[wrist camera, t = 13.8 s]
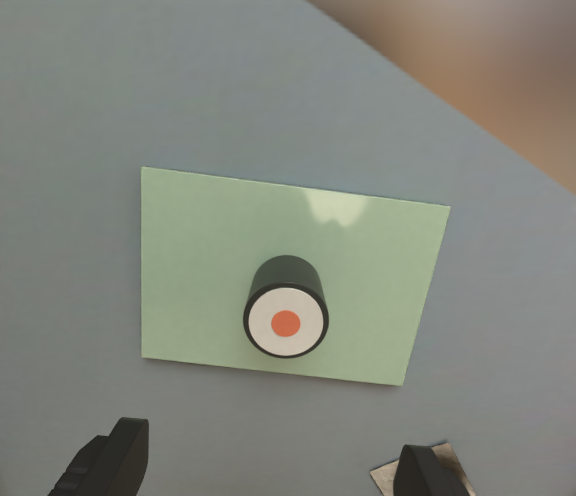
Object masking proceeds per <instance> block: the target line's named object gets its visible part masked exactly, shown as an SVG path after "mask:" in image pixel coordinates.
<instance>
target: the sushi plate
mask: <svg viewBox="0 0 576 496" xmlns="http://www.w3.org/2000/svg"><path fill="white" fill-rule="evenodd" d="M450 209H451V207H449V206H446V205H442V204H434V203H427V202H419V201H411V200H404V199H396V198H388V197H381V196H373V195H365V194H357V193H350V192H342V191H334V190H327V189H319V188H311V187H304V186H296V185H288V184H280V183H273V182H265V181H257V180H250V179H242V178H234V177H226V176H219V175H211V174H203V173H196V172H188V171H180V170H173V169H165V168H157V167H149V166H145V167H141V357H143V358H152V359H161V360H170V361H179V362H188V363H197V364H206V365H215V366H224V367H233V368H242V369H251V370H260V371H269V372H278V373H287V374H296V375H305V376H314V377H323V378H332V379H341V380H350V381H359V382H368V383H377V384H386V385H395V386H402V385H403V382H404V378H405V374H406V371H407V367H408V363H409V360H410V356H411V352H412V349H413V345H414V341H415V338H416V334H417V330H418V327H419V323H420V319H421V316H422V312H423V308H424V305H425V301H426V297H427V294H428V290H429V286H430V282H431V279H432V275H433V271H434V268H435V264H436V260H437V257H438V253H439V249H440V246H441V242H442V238H443V235H444V231H445V227H446V224H447V220H448V216H449V213H450ZM281 255H292V256H297V257H300V258H302V259H304V260H306V261H307V262H309V263H310V264H311V265H312V266H313V267H314V268H315V270H316V271H317V273H318V275H319V277H320V281H321V285H322V289H323V293H324V297H325V301H326V305H327V309H328V314H329V327H328V331H327V333H326V336H325V337H324V339H323V341H322V342H321V343H320V344H319V345H318V346H317V347H316V348H315V349H314V350H313V351H311V352H310V353H308V354H306V355H303V356H301V357H297V358H292V359H281V358H275V357H272V356H269V355H267V354H264V353H263V352H261V351H260V350H258V349H257V348H256V347H255V346H254V345H253V344H252V343H251V342H250V340H249V339H248V337H247V335H246V333H245V330H244V327H243V313H244V309H245V305H246V302H247V299H248V295H249V292H250V288H251V285H252V281H253V278H254V275H255V273H256V271H257V270H258V268H259V267H260V266H261V265H262V264H263V263H264V262H266V261H267V260H269V259H271V258H273V257H276V256H281Z"/></svg>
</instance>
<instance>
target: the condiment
mask: <svg viewBox="0 0 576 496" xmlns="http://www.w3.org/2000/svg"><path fill="white" fill-rule="evenodd" d="M431 449H432V450H433V451H434V453H435V455H436V457H437V459H438V461H439V463H440V465H441V467H442V468H449V469H450V470H451V471H452V472H453V473H454V474H455V475H456V476H457V477H458V479H459V480H460V481H461V482H462V483H463V484H464V485H465V487H466V488H467V490H468V492H469V494H470V496H476V494H475V492H474V490H473V488H472V486H471V484H470V482H469V481H468V479H467V477H466V475H465V473H464V471H463V469H462V467H461V465H460V463H459V461H458V459H457V457H456V455H455V453H454V451H453V449H452V448H451V446H450V444H449V443H445V444H442V445H440V446H439V445H437V446H434V447H432V448H431ZM398 462H399V460H397V461H395V462H393V463H391V464H387V465H384V466H382V467H381V468H378V469H376V470H373V471H371V472H370V474H371V475H372V477H373V479H374V480H375V482H376V483H377V485H378V487H379V488H380V489H381V491H382V493H383V495H384V496H393V480H394V476H395V473H396V469H397V466H398Z"/></svg>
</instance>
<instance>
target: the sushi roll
mask: <svg viewBox="0 0 576 496" xmlns="http://www.w3.org/2000/svg"><path fill="white" fill-rule="evenodd" d="M243 327H244V330H245V333H246V335H247V337H248V339H249V340H250V342H251V343H252V344H253V345H254V346H255V347H256V348H257V349H258V350H260V351H261V352H263V353H264V354H267V355H269V356H272V357H275V358H281V359H292V358H297V357H301V356H303V355H306V354H308V353H310V352H311V351H313V350H314V349H315V348H316V347H317V346H318V345H319V344H320V343H321V342H322V341H323V339H324V337H325V336H326V333H327V331H328V327H329V314H328V309H327V305H326V301H325V297H324V293H323V289H322V285H321V281H320V277H319V275H318V273H317V271H316V270H315V268H314V267H313V266H312V265H311V264H310V263H309V262H307V261H306V260H304V259H302V258H300V257H297V256H292V255H281V256H276V257H273V258H271V259H269V260H267V261H266V262H264V263H263V264H262V265H261V266H260V267H259V268H258V270H257V271H256V273H255V275H254V278H253V281H252V285H251V288H250V292H249V295H248V299H247V302H246V305H245V309H244V313H243Z"/></svg>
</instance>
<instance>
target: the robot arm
mask: <svg viewBox="0 0 576 496" xmlns="http://www.w3.org/2000/svg"><path fill="white" fill-rule="evenodd" d="M148 441H149V422H148V420H147V419H138V418H128V417H122V418H120V420H119V421H118V422H117V424H116V425H115V427H114V428H113V430H112V432H111V433H110V435H109V436H100V435H97V436H96V437H95V438H94V439H93V440H91V441H90V442H89V443H88V444H86V445H85V446H84V447H83V448H82V449H80V450H79V452H78V453H77V454H76V456H75V457H74V459H73V460H72V462H71V463H70V464H69V466H68V467H67V469H66V472H65V473H63V474H62V476H61V477H60V479H59V480H58V482H57V483H56V484H55V487H54V489H52V490H51V492H50V493H49V494H48V496H136V495H137V492H138V490H139V488H140V486H141V483H142V481H143V478H144V475H145V472H146V468H147V463H148ZM393 496H470V494H469V492H468V490H467V488H466V487H465V485H464V484H463V483H462V482H461V481H460V480H459V479H458V477H457V476H456V475H455V474H454V473H453V472H452V471H451V470H450V469H449V468H442V467H441V465H440V463H439V461H438V459H437V457H436V455H435V453H434V451H433V450H432V449H431V448H430V447H427V446H416V445H404V446H403V449H402V452H401V455H400V459H399V462H398V466H397V469H396V473H395V476H394V480H393Z"/></svg>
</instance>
